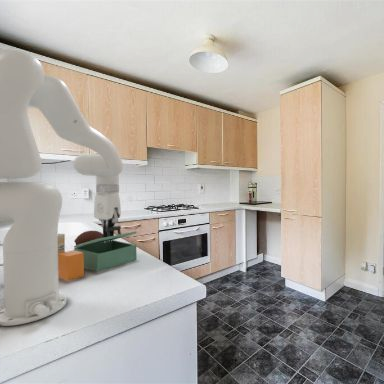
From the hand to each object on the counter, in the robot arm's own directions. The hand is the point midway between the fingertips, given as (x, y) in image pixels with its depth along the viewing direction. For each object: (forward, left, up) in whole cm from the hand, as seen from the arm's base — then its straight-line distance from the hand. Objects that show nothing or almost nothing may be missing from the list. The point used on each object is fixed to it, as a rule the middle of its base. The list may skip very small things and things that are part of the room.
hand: (108, 236), depth 89 cm
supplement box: (+9, +15, -11) cm, 21 cm away
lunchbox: (+1, 0, -11) cm, 11 cm away
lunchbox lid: (+1, 0, -2) cm, 2 cm away
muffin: (+20, -4, -11) cm, 23 cm away
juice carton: (-3, +14, -11) cm, 18 cm away
